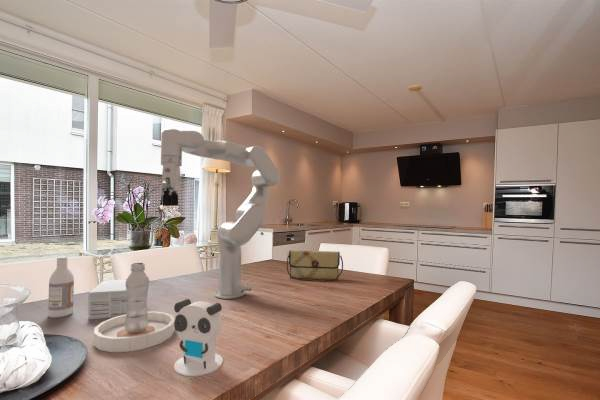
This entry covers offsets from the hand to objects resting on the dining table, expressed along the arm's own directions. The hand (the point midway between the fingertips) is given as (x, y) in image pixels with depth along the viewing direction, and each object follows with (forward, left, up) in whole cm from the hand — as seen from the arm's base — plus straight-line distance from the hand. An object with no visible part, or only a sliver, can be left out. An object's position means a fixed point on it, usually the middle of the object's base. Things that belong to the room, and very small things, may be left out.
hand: (170, 205), depth 123 cm
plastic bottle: (+2, +28, -37) cm, 47 cm away
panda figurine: (-19, +47, -38) cm, 64 cm away
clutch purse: (-64, -36, -39) cm, 83 cm away
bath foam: (+34, +7, -38) cm, 52 cm away
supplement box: (+18, +3, -39) cm, 43 cm away
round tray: (+2, +28, -38) cm, 47 cm away
